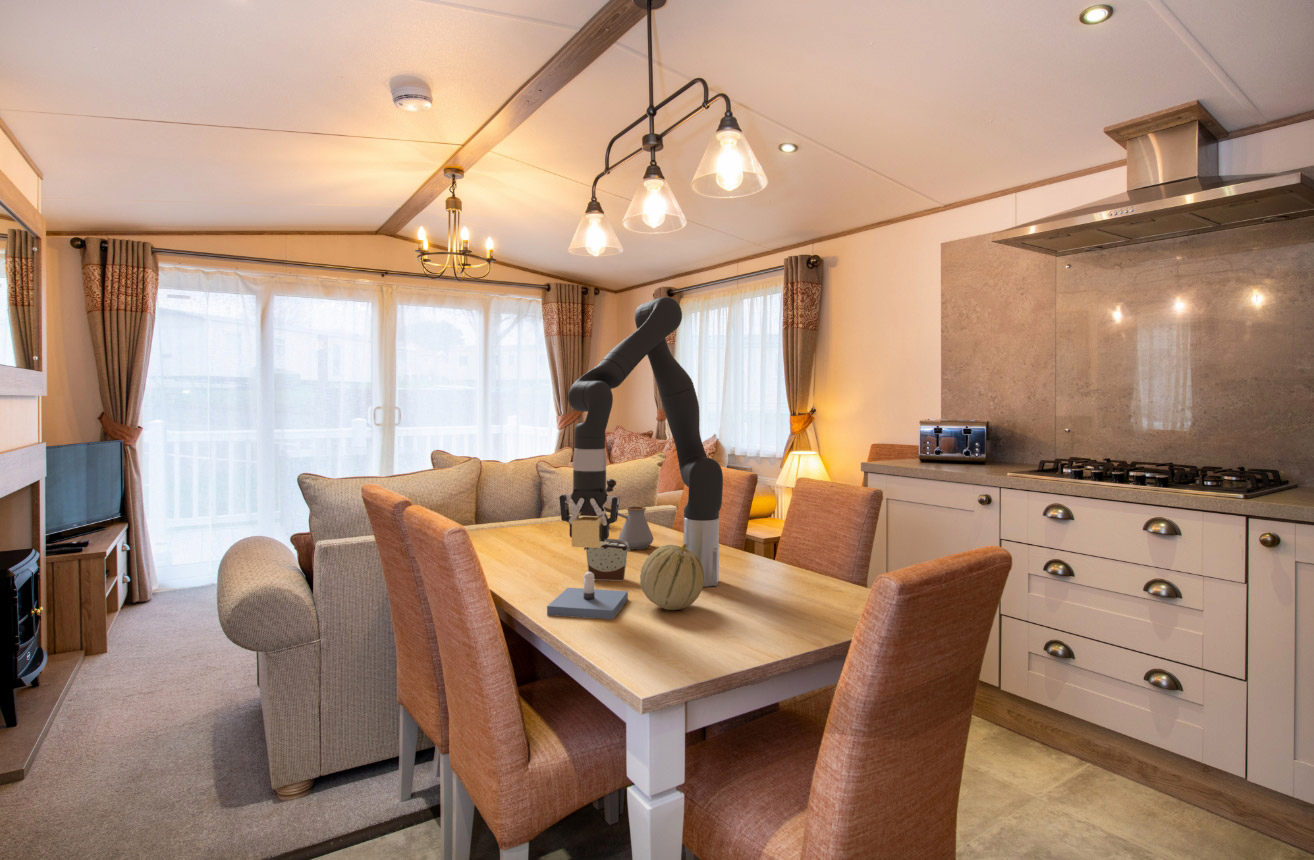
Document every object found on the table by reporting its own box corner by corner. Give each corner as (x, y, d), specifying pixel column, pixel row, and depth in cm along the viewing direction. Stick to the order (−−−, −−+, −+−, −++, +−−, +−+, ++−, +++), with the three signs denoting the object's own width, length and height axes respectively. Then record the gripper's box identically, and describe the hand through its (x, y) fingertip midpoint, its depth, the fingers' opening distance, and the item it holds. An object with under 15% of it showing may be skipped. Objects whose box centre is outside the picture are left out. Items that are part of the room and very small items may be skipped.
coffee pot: (649, 542, 224) (650, 498, 224) (656, 550, 213) (657, 503, 212) (586, 545, 220) (586, 499, 219) (589, 552, 209) (590, 505, 208)
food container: (632, 575, 183) (632, 539, 182) (629, 581, 176) (629, 543, 176) (588, 573, 184) (588, 537, 183) (583, 579, 178) (583, 542, 177)
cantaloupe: (630, 602, 158) (631, 539, 157) (686, 596, 164) (687, 535, 163) (655, 622, 144) (656, 553, 144) (715, 614, 150) (716, 548, 149)
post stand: (627, 599, 160) (628, 565, 160) (612, 619, 146) (612, 582, 145) (567, 595, 163) (567, 562, 163) (547, 614, 148) (547, 578, 148)
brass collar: (606, 542, 156) (606, 516, 156) (599, 548, 150) (599, 521, 150) (579, 540, 157) (580, 515, 157) (571, 546, 151) (571, 520, 151)
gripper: (624, 467, 155) (623, 538, 156) (564, 465, 158) (564, 535, 159) (616, 470, 148) (615, 545, 149) (554, 468, 150) (554, 542, 151)
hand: (589, 540), depth 154 cm, fingers closed on brass collar, 6 cm apart
